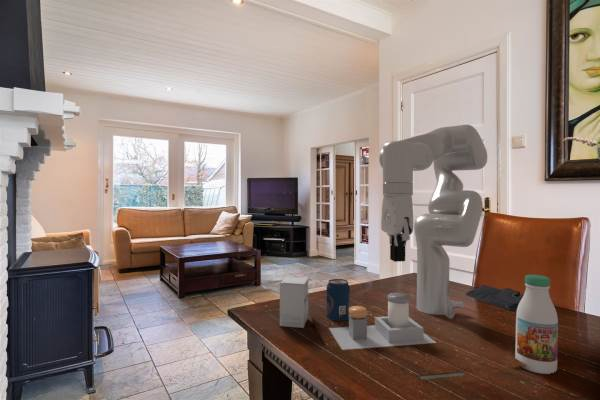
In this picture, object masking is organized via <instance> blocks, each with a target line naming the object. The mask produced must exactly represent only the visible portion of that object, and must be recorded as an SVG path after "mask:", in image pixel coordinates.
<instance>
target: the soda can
mask: <svg viewBox="0 0 600 400" xmlns="http://www.w3.org/2000/svg"><path fill="white" fill-rule="evenodd" d="M325 305H326V309H325V311H326V314H325V315H326V318H327V319H329V320H332V321H336V322H338V321H347V320H349V308H350V307H351V287H350V285H349V281H348V280H346V279H343V278H332V279H329V280H328V282H327V285H326V304H325Z"/></svg>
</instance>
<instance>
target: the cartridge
mask: <svg viewBox="0 0 600 400" xmlns="http://www.w3.org/2000/svg"><path fill="white" fill-rule="evenodd" d="M409 304H410V296H409V294H406V293H402V292H390V293H388V294H387V316H388V326H389V327H391V328H404V327H409V317H410V316H409V314H410V307H409V306H410V305H409Z"/></svg>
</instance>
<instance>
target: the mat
mask: <svg viewBox="0 0 600 400" xmlns="http://www.w3.org/2000/svg"><path fill="white" fill-rule="evenodd" d="M463 375H464V376H465V371H453V372H443V373H430V374H420V375H416V377H418V379H419V380H429V379H437V378H438V379H441V378H450V377H452V376H453V377H462V376H463ZM464 376H463V377H464Z"/></svg>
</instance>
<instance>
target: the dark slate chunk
mask: <svg viewBox="0 0 600 400" xmlns="http://www.w3.org/2000/svg"><path fill="white" fill-rule="evenodd" d="M465 296H468V297H471V298H473V299H475V300H478V301H481V302H484V303H486V304H489V305H491V306H495V307H498V308H499V309H502V310H505V311H507V312H516V313H517V308H518V305H519V303H520V301H521V299H522V297H523V296H524V293H522V294H521V292H520V291H518V290H514V289H512V288H511V287H505V288H502V289H499V288H496V287H492V286H490V285H486V284H482V285H480V286H478V287H476V288H473V289H472V290H468V291H467V292H466V293H465Z"/></svg>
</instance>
